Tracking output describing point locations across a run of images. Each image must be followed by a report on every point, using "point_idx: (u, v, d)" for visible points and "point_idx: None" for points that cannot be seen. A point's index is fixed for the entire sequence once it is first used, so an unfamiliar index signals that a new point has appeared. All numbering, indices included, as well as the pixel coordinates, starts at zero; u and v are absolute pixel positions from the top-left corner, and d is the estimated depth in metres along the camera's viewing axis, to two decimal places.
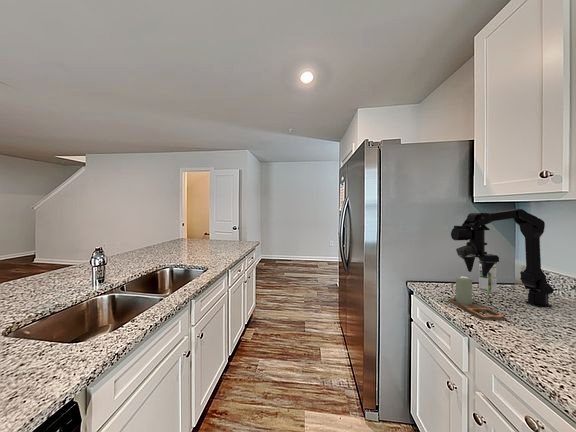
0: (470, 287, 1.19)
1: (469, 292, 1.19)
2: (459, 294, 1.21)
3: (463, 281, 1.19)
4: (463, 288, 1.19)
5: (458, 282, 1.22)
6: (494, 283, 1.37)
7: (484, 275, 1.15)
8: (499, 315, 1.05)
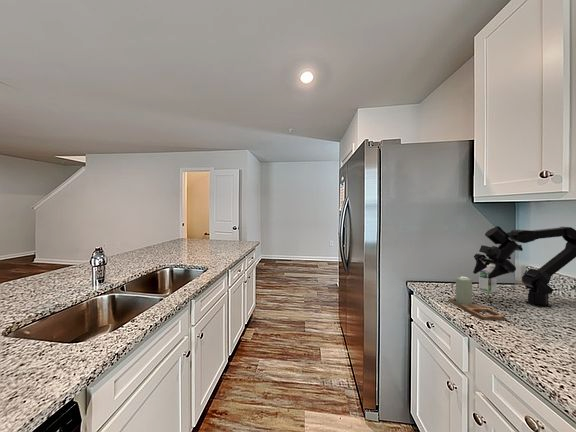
0: (470, 287, 1.19)
1: (469, 292, 1.19)
2: (459, 294, 1.21)
3: (463, 281, 1.19)
4: (463, 288, 1.19)
5: (458, 282, 1.22)
6: (494, 283, 1.37)
7: (489, 277, 1.17)
8: (499, 315, 1.05)
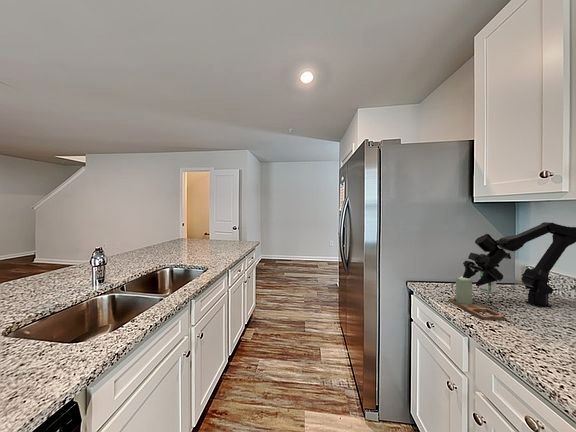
0: (470, 287, 1.19)
1: (469, 292, 1.19)
2: (459, 294, 1.21)
3: (463, 281, 1.19)
4: (463, 288, 1.19)
5: (458, 282, 1.22)
6: (494, 283, 1.37)
7: (477, 285, 1.17)
8: (499, 315, 1.05)
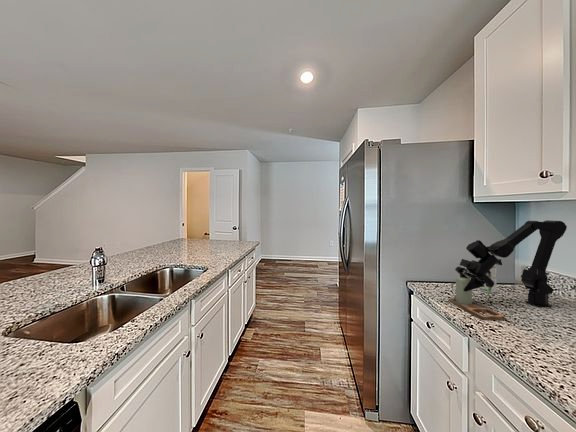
0: None
1: (469, 292, 1.19)
2: (459, 294, 1.21)
3: (463, 281, 1.19)
4: (462, 288, 1.19)
5: (458, 282, 1.22)
6: (494, 283, 1.37)
7: (465, 290, 1.19)
8: (499, 315, 1.05)
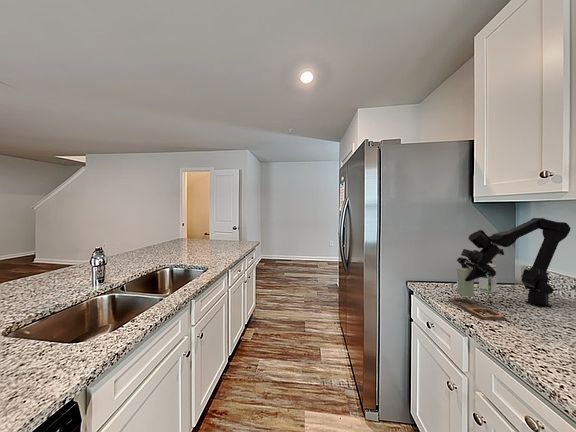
0: None
1: (471, 282, 1.18)
2: (460, 284, 1.20)
3: (464, 271, 1.18)
4: (464, 278, 1.18)
5: (460, 272, 1.20)
6: (494, 283, 1.37)
7: (466, 280, 1.18)
8: (499, 315, 1.05)
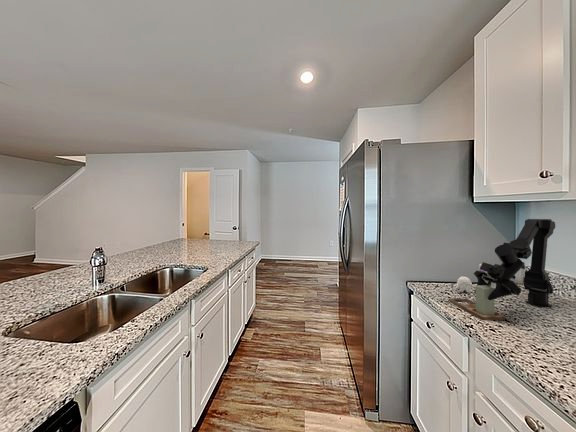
0: None
1: (492, 301, 1.06)
2: (480, 304, 1.08)
3: (485, 290, 1.06)
4: (484, 297, 1.06)
5: (479, 290, 1.09)
6: (494, 283, 1.37)
7: (489, 298, 1.05)
8: (499, 315, 1.05)
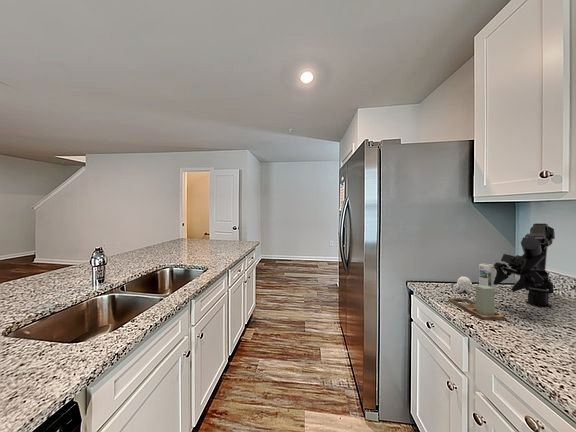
0: (492, 296, 1.06)
1: (492, 301, 1.06)
2: (480, 304, 1.08)
3: (485, 290, 1.06)
4: (484, 297, 1.06)
5: (479, 290, 1.09)
6: None
7: (513, 290, 1.05)
8: (499, 315, 1.05)
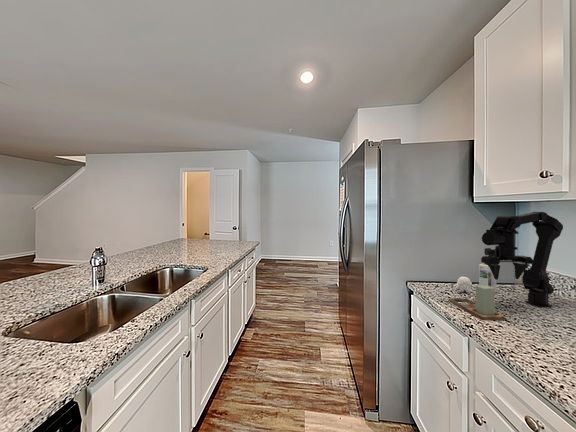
0: (492, 296, 1.06)
1: (492, 301, 1.06)
2: (480, 304, 1.08)
3: (485, 290, 1.06)
4: (484, 297, 1.06)
5: (479, 290, 1.09)
6: (494, 283, 1.37)
7: (495, 278, 1.15)
8: (499, 315, 1.05)
